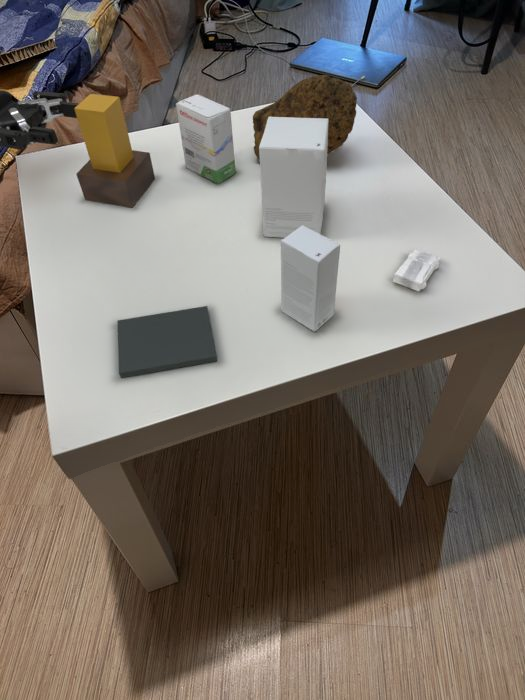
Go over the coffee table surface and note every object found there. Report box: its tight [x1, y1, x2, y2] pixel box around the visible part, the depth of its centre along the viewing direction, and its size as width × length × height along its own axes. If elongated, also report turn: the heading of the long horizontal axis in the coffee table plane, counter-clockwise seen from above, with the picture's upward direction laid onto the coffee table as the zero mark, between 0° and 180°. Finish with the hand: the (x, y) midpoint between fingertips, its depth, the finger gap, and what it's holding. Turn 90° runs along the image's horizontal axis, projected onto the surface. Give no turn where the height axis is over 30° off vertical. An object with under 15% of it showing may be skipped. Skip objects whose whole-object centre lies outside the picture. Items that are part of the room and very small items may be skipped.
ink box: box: [175, 93, 237, 185], centre depth 89 cm, size 8×5×12 cm, turn 47°
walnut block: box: [76, 149, 156, 209], centre depth 89 cm, size 9×9×5 cm
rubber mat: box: [117, 305, 218, 379], centre depth 67 cm, size 12×9×1 cm
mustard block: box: [74, 93, 134, 173], centre depth 83 cm, size 5×5×10 cm
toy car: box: [392, 248, 442, 292], centre depth 74 cm, size 5×8×2 cm, turn 146°
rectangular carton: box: [259, 117, 328, 239], centre depth 77 cm, size 9×9×15 cm
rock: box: [252, 74, 358, 160], centre depth 92 cm, size 13×12×20 cm
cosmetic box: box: [280, 225, 341, 333], centre depth 66 cm, size 6×4×12 cm
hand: (69, 123), depth 83 cm, fingers open, 8 cm apart
